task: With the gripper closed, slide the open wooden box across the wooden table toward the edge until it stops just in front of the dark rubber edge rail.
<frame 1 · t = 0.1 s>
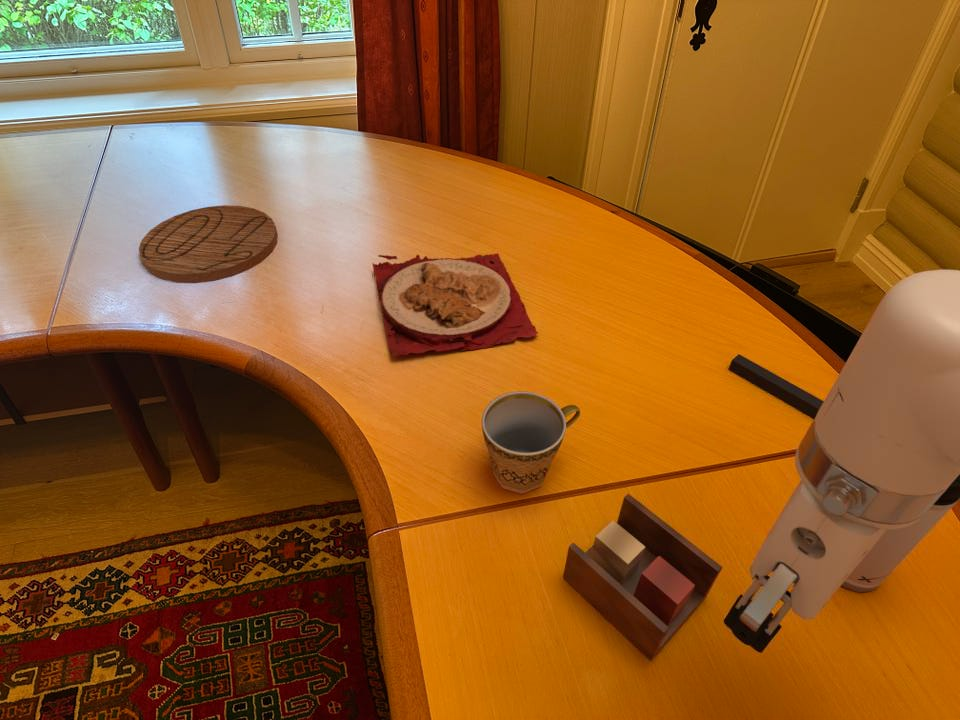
hand: (775, 594, 48), 17 cm above the table, tool pointing down, fingers open, 9 cm apart
open wooden box: (633, 587, 67), on the table
edge rail: (793, 401, 87), on the table
plate with food: (450, 303, 105), on the table
trivet: (212, 246, 118), on the table
travel mug: (850, 568, 69), on the table
ceramic cup: (529, 469, 79), on the table
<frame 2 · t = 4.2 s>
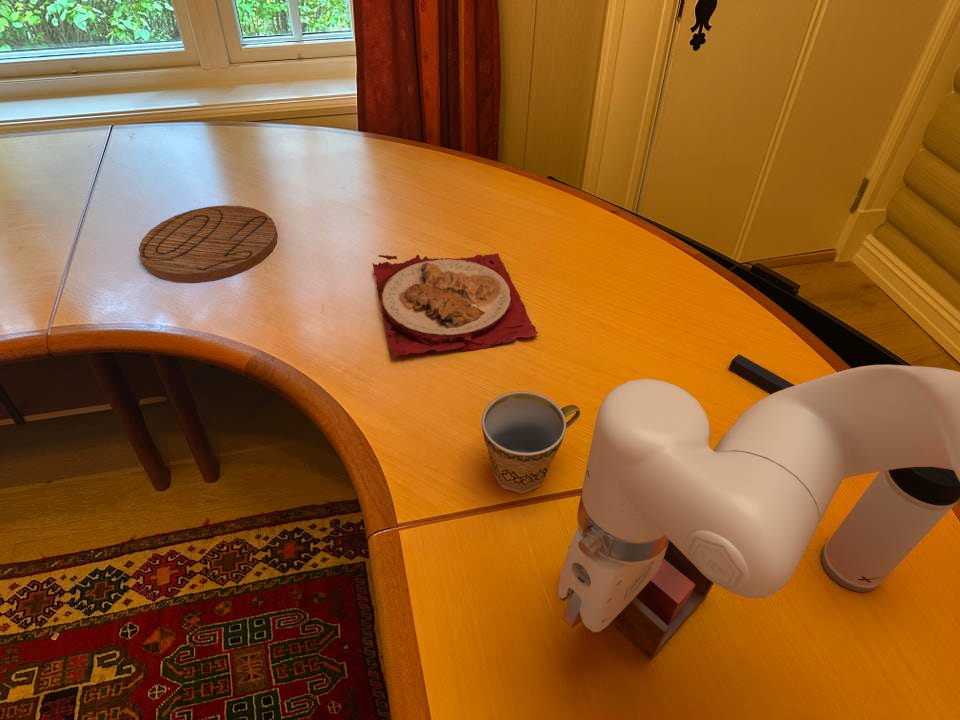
hand: (595, 615, 61), 4 cm above the table, tool pointing down, fingers closed
open wooden box: (633, 586, 67), on the table, touching gripper
everything else where it was.
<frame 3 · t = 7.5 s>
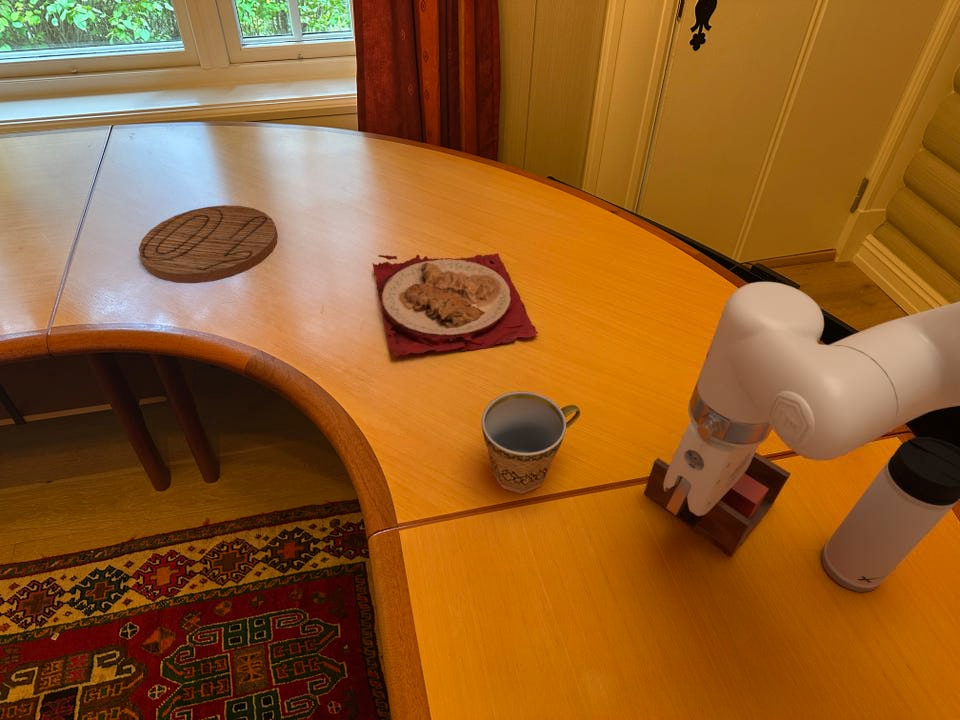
hand: (685, 515, 69), 4 cm above the table, tool pointing down, fingers closed
open wooden box: (707, 499, 75), on the table, touching gripper
everything else where it was.
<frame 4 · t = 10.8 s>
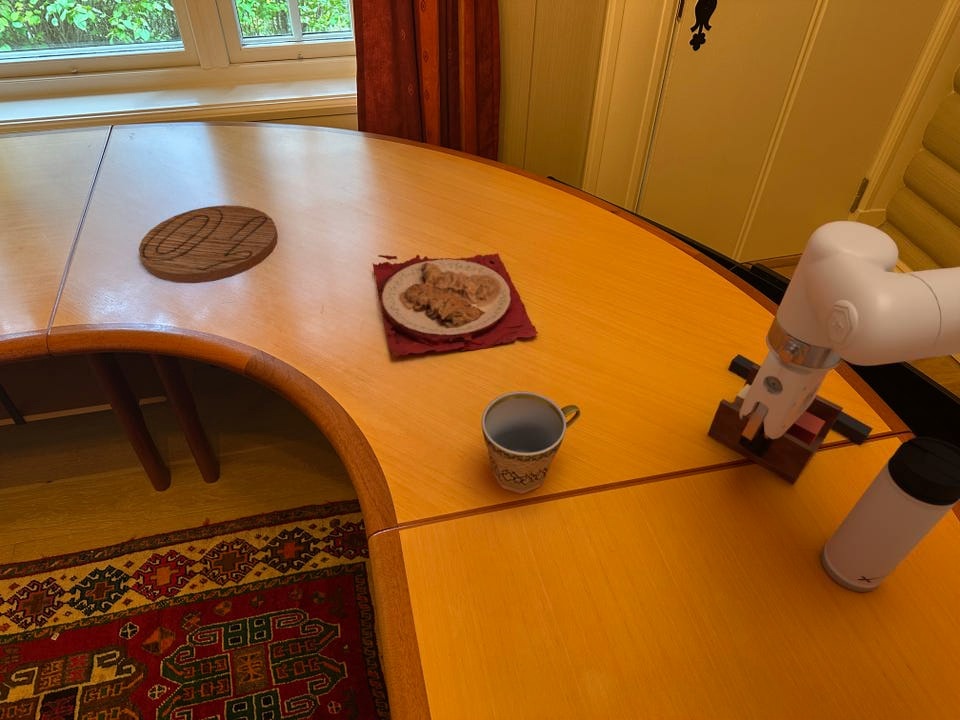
hand: (752, 447, 76), 4 cm above the table, tool pointing down, fingers closed
open wooden box: (765, 437, 82), on the table, touching gripper
everything else where it was.
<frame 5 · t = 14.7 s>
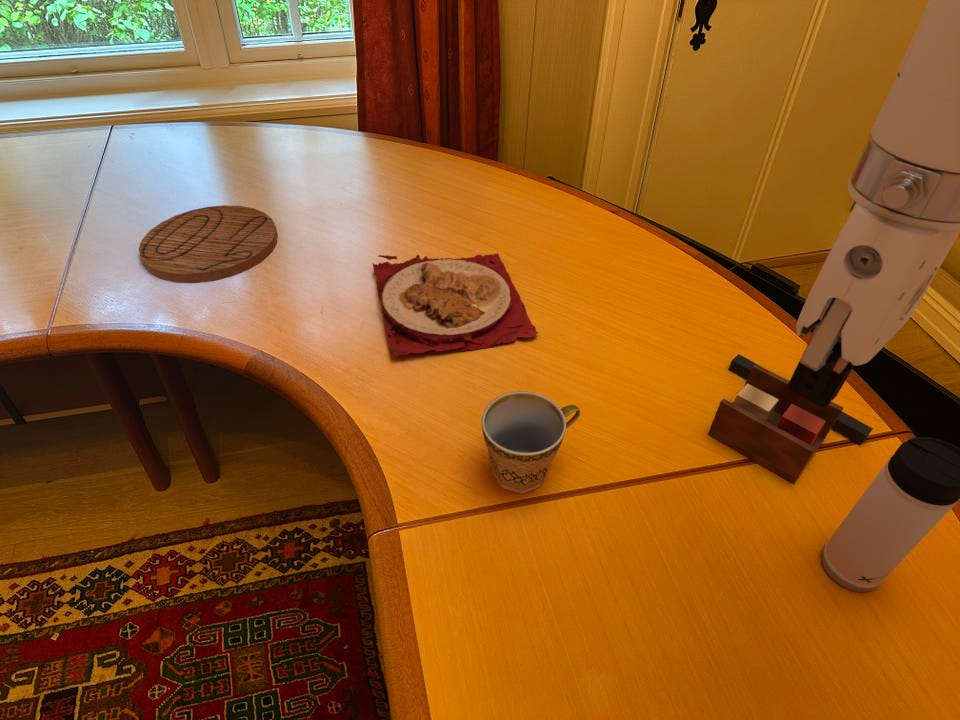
hand: (810, 393, 48), 29 cm above the table, tool pointing down, fingers closed
open wooden box: (765, 437, 83), on the table
everything else where it was.
at the end: open wooden box inside the target area on the table beside the edge rail (0.7 cm from its centre), on the table; open wooden box tilted 0°; open wooden box moved 30.8 cm from its start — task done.
